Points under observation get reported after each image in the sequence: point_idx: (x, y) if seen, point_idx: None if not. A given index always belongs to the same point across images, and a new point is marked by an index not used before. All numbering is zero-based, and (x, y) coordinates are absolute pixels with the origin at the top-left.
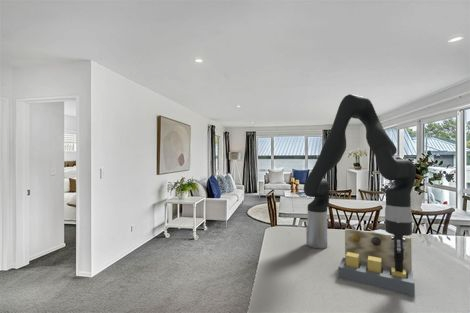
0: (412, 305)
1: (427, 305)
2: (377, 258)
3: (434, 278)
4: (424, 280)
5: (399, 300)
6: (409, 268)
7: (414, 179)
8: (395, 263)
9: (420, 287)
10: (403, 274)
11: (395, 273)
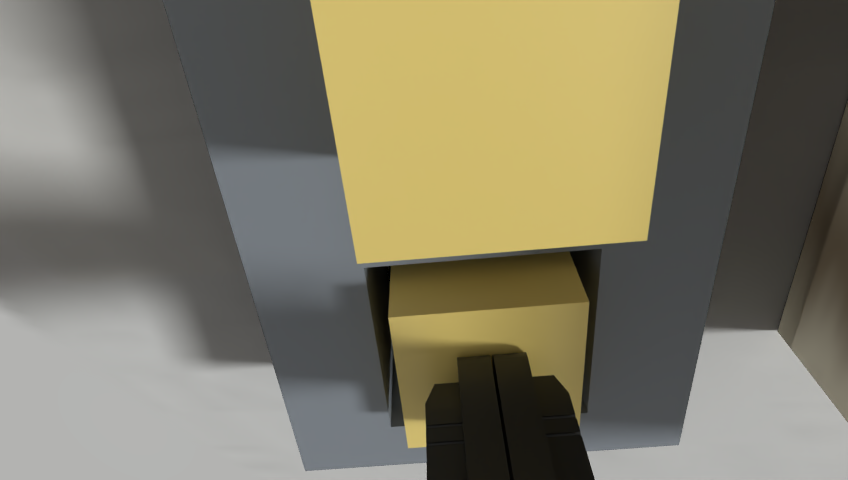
0: (135, 358)
1: (235, 428)
2: (573, 171)
3: (834, 457)
4: (750, 407)
5: (132, 278)
6: (841, 389)
7: None
8: (468, 450)
9: None
10: (407, 420)
11: (393, 345)
